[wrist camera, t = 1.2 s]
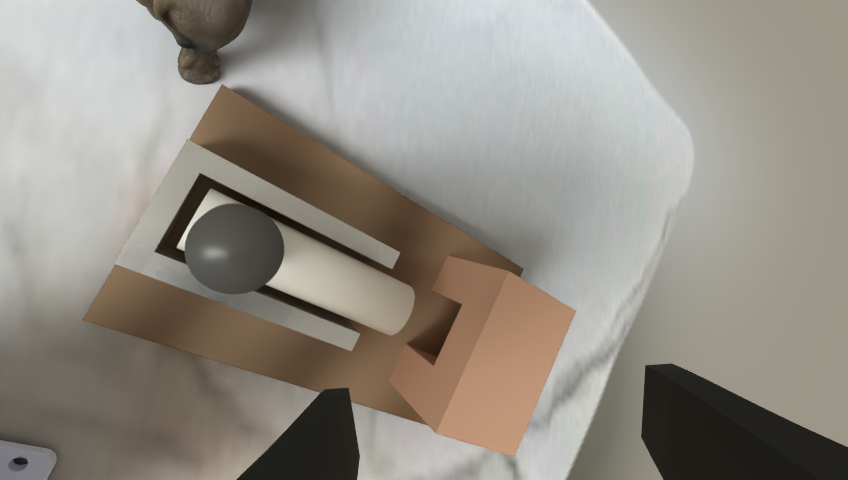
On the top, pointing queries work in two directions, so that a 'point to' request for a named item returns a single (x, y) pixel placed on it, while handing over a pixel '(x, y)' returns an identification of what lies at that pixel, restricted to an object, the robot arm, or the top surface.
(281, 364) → the board
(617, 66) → the top surface
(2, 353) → the top surface
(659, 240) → the top surface
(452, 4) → the top surface
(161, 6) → the rhino figurine
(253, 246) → the bolt
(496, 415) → the socket
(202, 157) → the channel
